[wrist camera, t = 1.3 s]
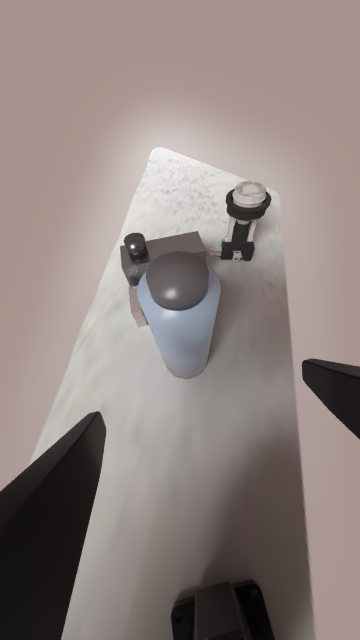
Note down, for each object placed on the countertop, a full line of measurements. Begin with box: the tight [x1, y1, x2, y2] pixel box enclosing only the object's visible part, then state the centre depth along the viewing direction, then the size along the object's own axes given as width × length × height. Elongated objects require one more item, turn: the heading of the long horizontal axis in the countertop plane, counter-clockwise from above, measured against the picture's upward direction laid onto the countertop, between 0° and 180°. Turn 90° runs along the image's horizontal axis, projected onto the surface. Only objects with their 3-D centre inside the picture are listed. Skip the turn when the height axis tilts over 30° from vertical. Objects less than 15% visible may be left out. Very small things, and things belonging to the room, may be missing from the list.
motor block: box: [120, 231, 206, 327], centre depth 25 cm, size 9×10×8 cm
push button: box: [210, 181, 271, 262], centre depth 27 cm, size 7×5×10 cm
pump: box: [137, 251, 221, 379], centre depth 17 cm, size 5×5×14 cm
